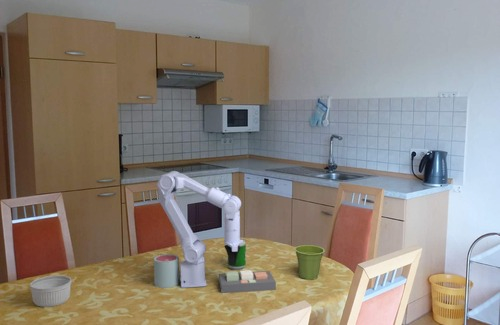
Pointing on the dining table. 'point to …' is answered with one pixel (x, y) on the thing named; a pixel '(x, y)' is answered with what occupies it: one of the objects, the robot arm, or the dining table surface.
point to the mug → (166, 271)
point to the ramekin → (50, 290)
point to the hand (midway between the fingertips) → (232, 264)
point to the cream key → (246, 275)
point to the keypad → (247, 284)
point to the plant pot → (309, 260)
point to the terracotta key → (260, 275)
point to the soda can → (240, 257)
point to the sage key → (232, 276)
